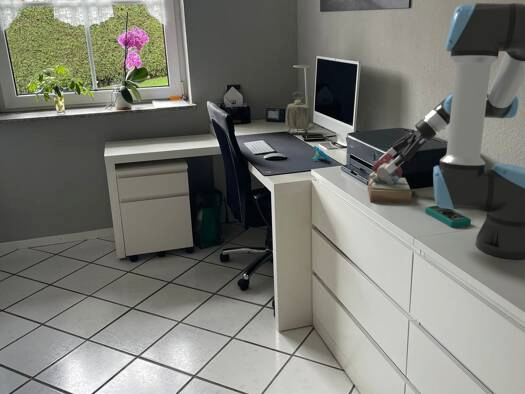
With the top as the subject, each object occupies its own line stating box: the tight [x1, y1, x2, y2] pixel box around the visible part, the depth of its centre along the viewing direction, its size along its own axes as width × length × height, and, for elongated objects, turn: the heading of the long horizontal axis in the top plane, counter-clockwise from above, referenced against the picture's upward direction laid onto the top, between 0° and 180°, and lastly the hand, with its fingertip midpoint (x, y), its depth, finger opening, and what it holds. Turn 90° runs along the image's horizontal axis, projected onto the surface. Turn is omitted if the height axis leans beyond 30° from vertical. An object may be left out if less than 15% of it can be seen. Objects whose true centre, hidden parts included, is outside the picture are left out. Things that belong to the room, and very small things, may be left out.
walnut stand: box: [367, 176, 413, 205], centre depth 186 cm, size 18×14×5 cm
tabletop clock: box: [285, 91, 311, 135], centre depth 301 cm, size 14×9×25 cm, turn 84°
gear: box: [312, 145, 331, 162], centre depth 238 cm, size 11×6×10 cm
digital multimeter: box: [424, 205, 472, 229], centre depth 163 cm, size 7×15×3 cm, turn 17°
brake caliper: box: [368, 153, 403, 185], centre depth 184 cm, size 11×11×12 cm
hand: (384, 166), depth 184 cm, fingers open, 13 cm apart
